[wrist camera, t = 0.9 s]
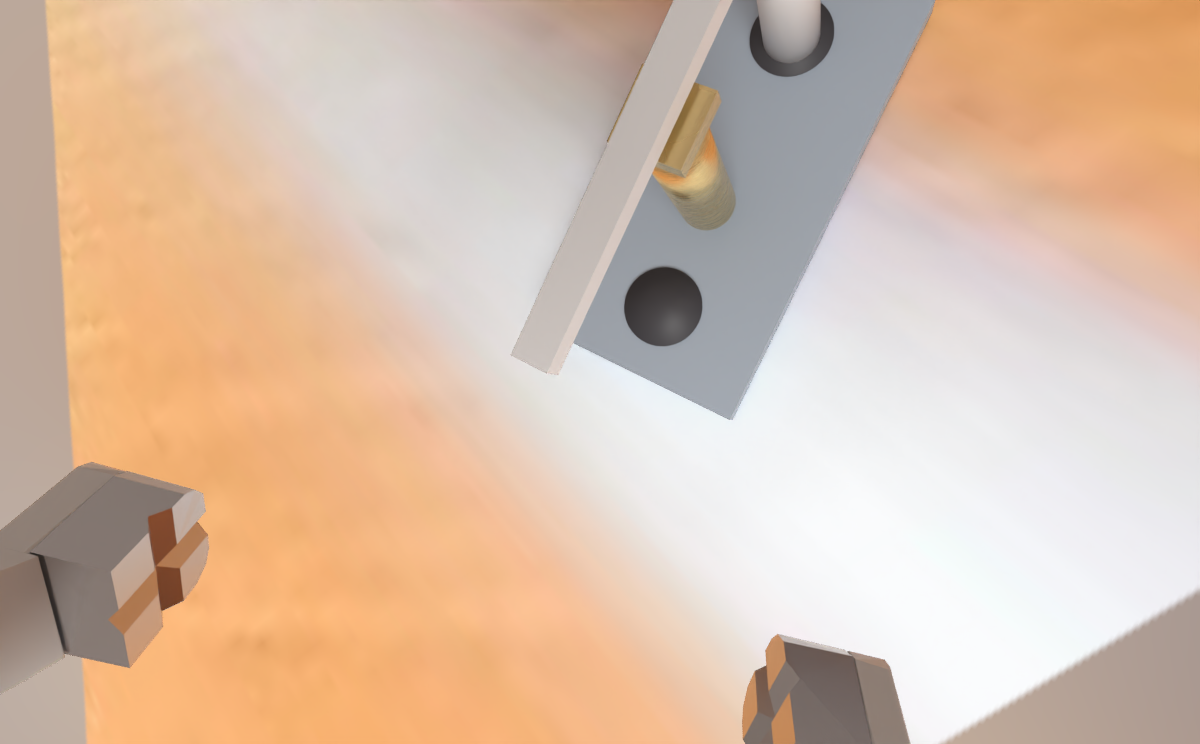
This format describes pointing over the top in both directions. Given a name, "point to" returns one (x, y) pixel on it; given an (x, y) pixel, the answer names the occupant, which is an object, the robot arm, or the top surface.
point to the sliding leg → (695, 163)
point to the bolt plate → (758, 176)
